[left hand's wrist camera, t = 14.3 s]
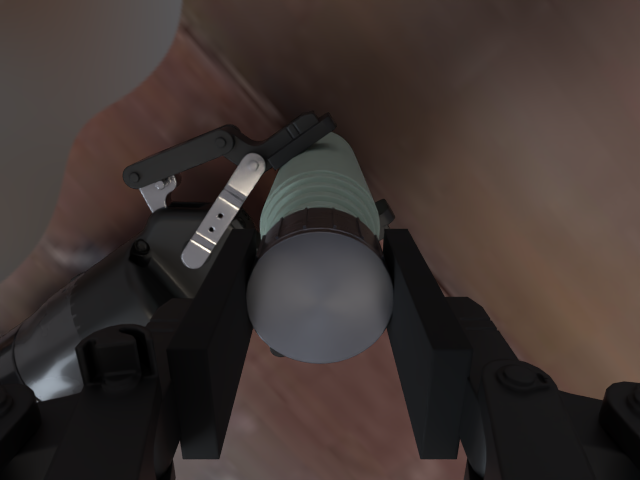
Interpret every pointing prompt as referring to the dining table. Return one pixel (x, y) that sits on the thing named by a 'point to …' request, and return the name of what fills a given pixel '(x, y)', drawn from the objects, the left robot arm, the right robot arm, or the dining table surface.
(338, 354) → the cap
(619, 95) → the dining table surface
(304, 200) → the bottle
